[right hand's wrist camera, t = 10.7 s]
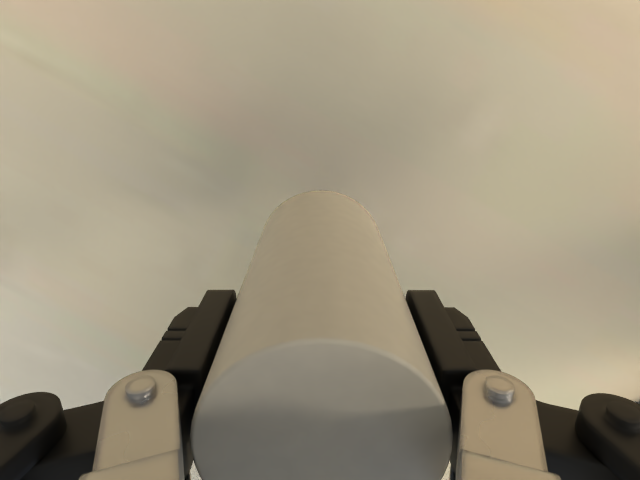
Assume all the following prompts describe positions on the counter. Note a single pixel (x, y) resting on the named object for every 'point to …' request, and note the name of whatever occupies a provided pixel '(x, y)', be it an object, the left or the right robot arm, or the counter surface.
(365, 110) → the counter surface
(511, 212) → the counter surface
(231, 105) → the counter surface
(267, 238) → the canister
